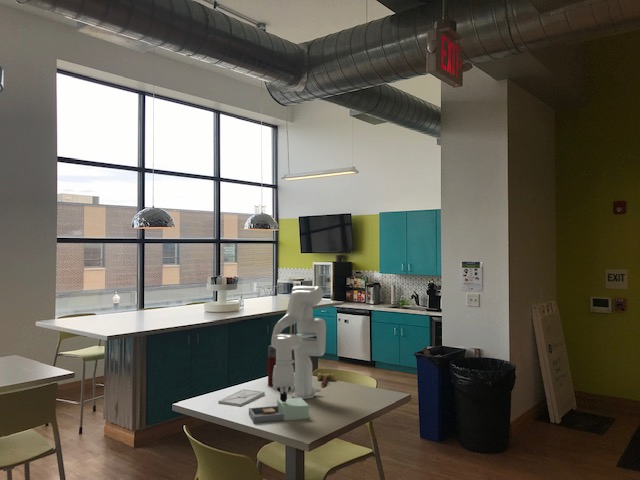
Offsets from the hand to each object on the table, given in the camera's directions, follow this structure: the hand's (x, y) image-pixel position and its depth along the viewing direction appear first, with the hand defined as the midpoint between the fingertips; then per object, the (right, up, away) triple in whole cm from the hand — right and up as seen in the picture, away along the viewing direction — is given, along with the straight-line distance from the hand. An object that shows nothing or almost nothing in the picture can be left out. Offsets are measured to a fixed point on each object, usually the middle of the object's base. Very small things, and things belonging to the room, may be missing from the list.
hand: (283, 401), depth 248 cm
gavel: (+20, -10, +64) cm, 67 cm away
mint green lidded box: (+4, -7, +1) cm, 8 cm away
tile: (-7, -3, -3) cm, 8 cm away
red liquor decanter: (-9, -9, +61) cm, 62 cm away
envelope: (-24, -9, +29) cm, 39 cm away
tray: (-8, -7, -3) cm, 11 cm away
